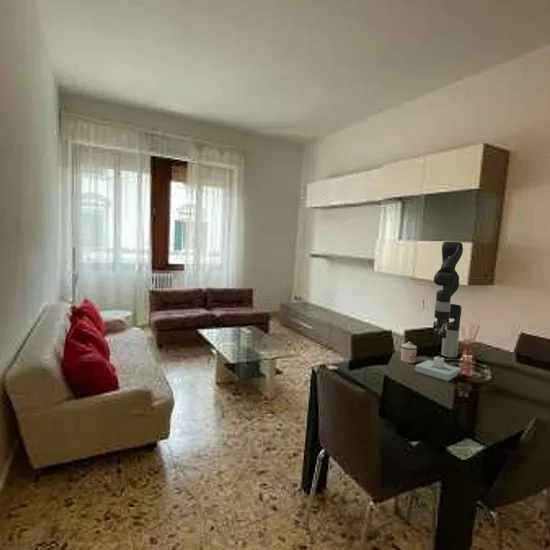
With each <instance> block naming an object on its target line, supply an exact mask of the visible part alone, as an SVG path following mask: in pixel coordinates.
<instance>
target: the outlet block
mask: <svg viewBox="0 0 550 550" xmlns="http://www.w3.org/2000/svg"><path fill="white" fill-rule="evenodd" d="M460 371H461V372H462V368H461V367H457V366H453V365H449V364H445V363H444V367H443V369H442V370H441V369H437V368H434V367H433V360H431V359H427V360H425V361H423V362H421V363H418V364H416V365H415V366H414V373H415V374H419V375H422V376H426V377H429V378H433V379H436V380H439V381H442V382H444V383H450V382H451V380H452V379H453V378H454V377H455V376H456V375H457V374H458V373H459V372H460ZM449 381H450V382H449ZM452 381H453V380H452Z"/></svg>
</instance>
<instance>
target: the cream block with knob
mask: <svg viewBox="0 0 550 550" xmlns="http://www.w3.org/2000/svg"><path fill="white" fill-rule="evenodd" d="M432 361H433V367H434V368H437V369H441V370H442V369H443V367H444V364H445V357H441V356H435V357H433V360H432Z"/></svg>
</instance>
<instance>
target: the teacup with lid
mask: <svg viewBox="0 0 550 550" xmlns="http://www.w3.org/2000/svg"><path fill="white" fill-rule="evenodd" d="M400 347H401V348H400V349H401V350H400V360H401V362H404V363H407V364H409V363H410V364H414V363H416V361H417V352H418V351H417V350H418V347H417V345H414V343H412V341H407V342H406V343H403V344H401V345H400Z"/></svg>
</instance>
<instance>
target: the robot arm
mask: <svg viewBox="0 0 550 550" xmlns="http://www.w3.org/2000/svg"><path fill="white" fill-rule="evenodd" d="M463 252H464V245H463V243H462V242H461V241H444V242H443V243H442V245H441V255H442V257H441V258H442V261H441V262H442V263H441V265H440V268H439V270H437V271H436V273H435V275H434V276H433V282H434V285H436V286H442V289H439V290H437V291H436V295H435V296H436V299H435V304H434V306H435V307H434V318H435V319H436V320H435V321H433V326H432V333H434V341H437V342H439V341H440V335H441V338H442V341H441V354H440V355H441V356H444V357H447V358H457V357H458V352H459V351H458V349H459V338H460V326H461V325H460V324H461V315H462V305H460V304H456V303H455V304H454V303H451V299H452V296H453V295H454V294H455V293H456V292H458V289H459V287H460V275H459V273H458V272H457V271H456V267H457V264H458V263H459V262H460V259H461V257H462V255H463ZM450 319H451V320H452V319H453V321H451V322H450Z"/></svg>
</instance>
